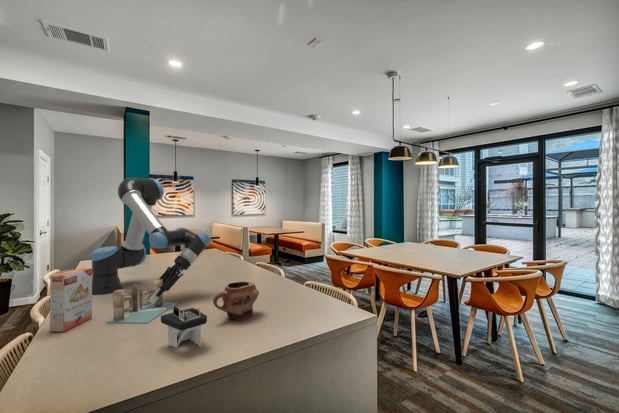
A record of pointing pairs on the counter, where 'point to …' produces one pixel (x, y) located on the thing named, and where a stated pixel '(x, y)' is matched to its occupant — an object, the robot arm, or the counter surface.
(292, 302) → the counter surface
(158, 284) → the fence panel
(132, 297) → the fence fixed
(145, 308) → the card
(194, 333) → the black-topped pedestal
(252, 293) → the brown sculpted mug
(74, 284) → the cracker box
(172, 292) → the counter surface
